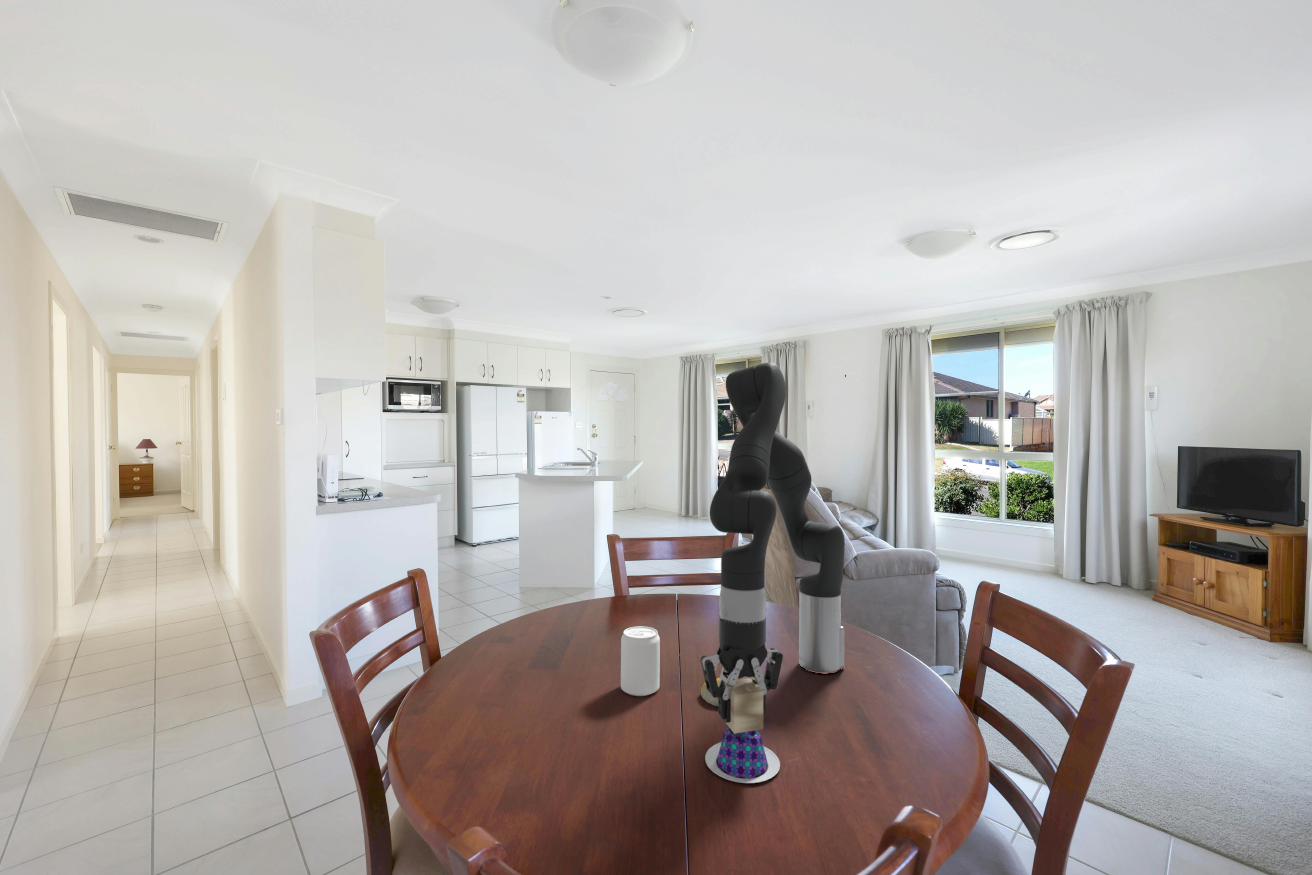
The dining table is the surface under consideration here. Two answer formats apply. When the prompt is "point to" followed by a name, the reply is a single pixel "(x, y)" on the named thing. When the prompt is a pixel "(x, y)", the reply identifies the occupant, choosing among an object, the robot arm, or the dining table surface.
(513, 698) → the dining table surface
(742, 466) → the robot arm
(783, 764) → the dining table surface
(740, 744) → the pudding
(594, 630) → the dining table surface
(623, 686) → the beverage can
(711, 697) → the bread roll
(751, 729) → the beech block
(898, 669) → the dining table surface
